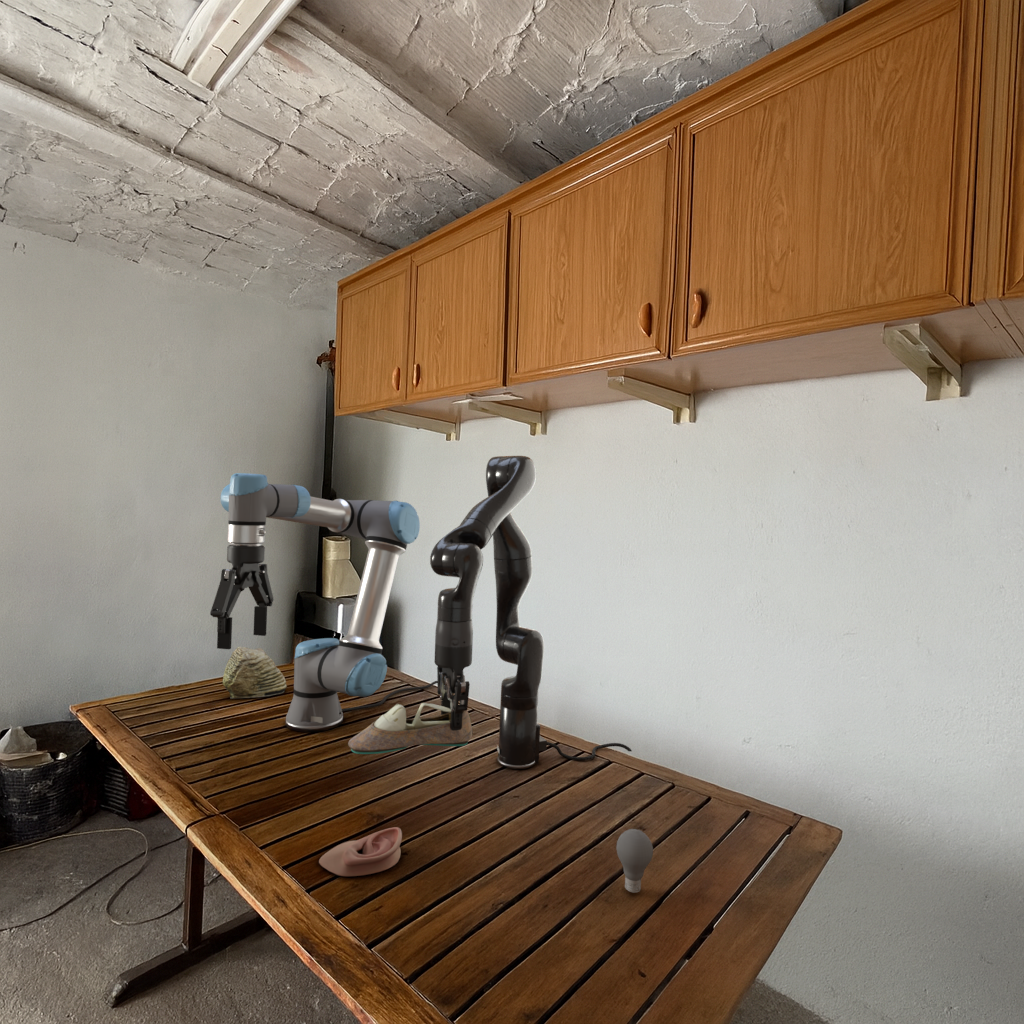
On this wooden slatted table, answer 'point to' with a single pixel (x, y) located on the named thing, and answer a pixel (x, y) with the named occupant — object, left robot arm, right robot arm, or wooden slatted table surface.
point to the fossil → (252, 674)
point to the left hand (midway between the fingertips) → (242, 641)
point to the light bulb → (634, 857)
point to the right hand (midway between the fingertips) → (451, 723)
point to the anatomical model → (365, 854)
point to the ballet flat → (410, 731)
